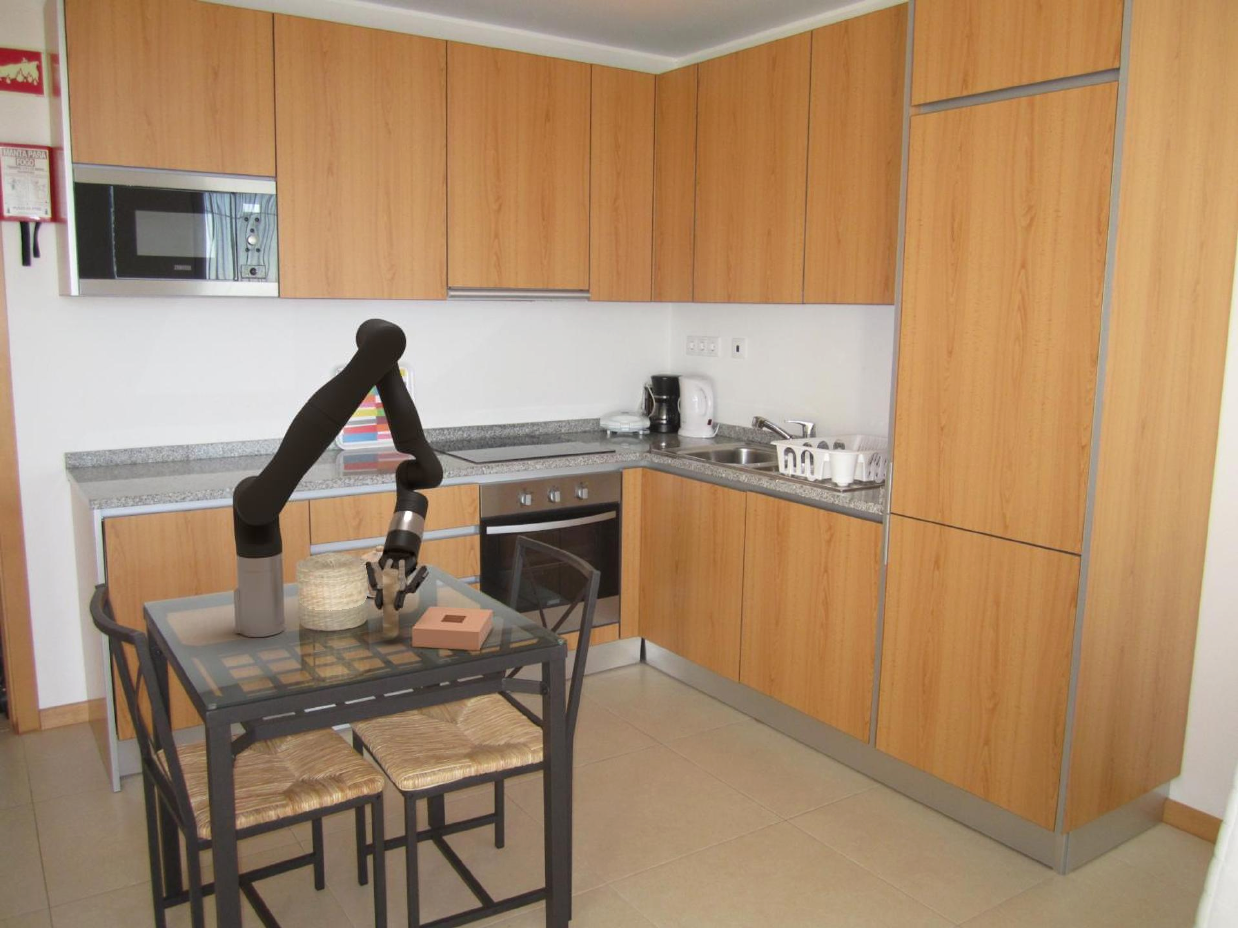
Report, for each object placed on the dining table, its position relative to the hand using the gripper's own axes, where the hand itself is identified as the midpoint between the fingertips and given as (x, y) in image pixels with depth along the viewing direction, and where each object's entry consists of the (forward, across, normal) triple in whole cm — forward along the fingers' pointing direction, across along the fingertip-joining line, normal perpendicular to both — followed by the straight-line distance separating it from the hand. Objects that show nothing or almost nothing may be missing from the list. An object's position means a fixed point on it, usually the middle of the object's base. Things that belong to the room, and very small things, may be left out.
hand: (387, 608), depth 210 cm
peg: (+3, 0, +6) cm, 7 cm away
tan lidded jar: (-18, -13, +30) cm, 37 cm away
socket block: (+1, +12, +10) cm, 16 cm away
